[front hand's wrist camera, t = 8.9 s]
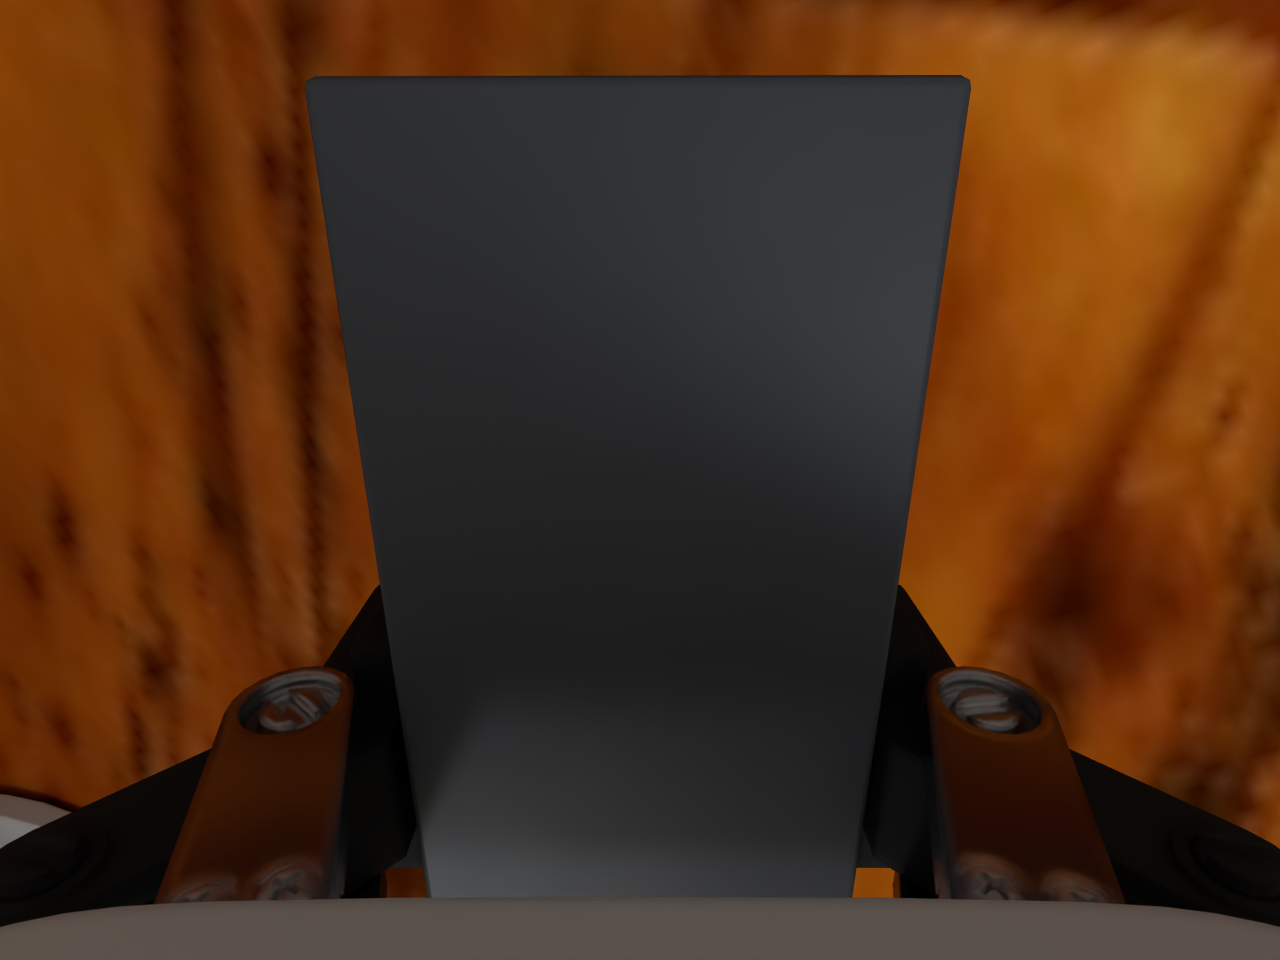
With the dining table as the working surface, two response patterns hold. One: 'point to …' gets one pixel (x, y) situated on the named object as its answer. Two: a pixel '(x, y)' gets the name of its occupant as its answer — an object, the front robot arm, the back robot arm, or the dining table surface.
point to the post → (638, 455)
